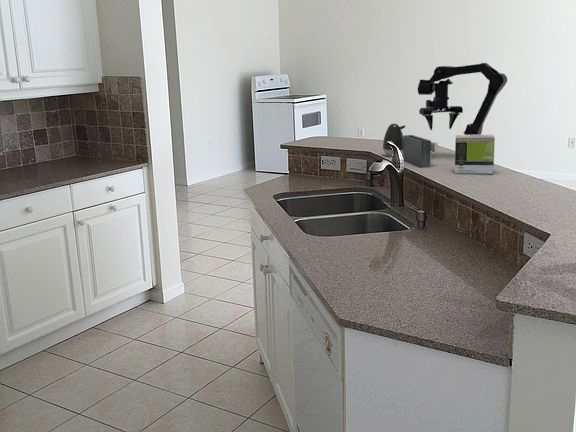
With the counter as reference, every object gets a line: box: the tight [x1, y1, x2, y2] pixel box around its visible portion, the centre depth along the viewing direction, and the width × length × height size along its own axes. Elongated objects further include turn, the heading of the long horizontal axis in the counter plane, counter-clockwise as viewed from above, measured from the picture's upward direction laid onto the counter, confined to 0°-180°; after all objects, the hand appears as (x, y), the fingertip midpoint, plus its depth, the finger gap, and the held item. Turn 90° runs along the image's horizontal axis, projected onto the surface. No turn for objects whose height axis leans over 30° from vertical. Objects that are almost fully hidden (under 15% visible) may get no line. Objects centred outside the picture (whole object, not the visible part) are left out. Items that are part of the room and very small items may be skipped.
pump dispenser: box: [382, 123, 406, 158], centre depth 300 cm, size 10×10×15 cm
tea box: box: [454, 134, 495, 175], centre depth 257 cm, size 15×10×15 cm
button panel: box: [402, 134, 432, 168], centre depth 279 cm, size 4×20×11 cm, turn 12°
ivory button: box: [431, 141, 439, 153], centre depth 272 cm, size 5×4×4 cm
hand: (440, 129), depth 290 cm, fingers open, 9 cm apart
